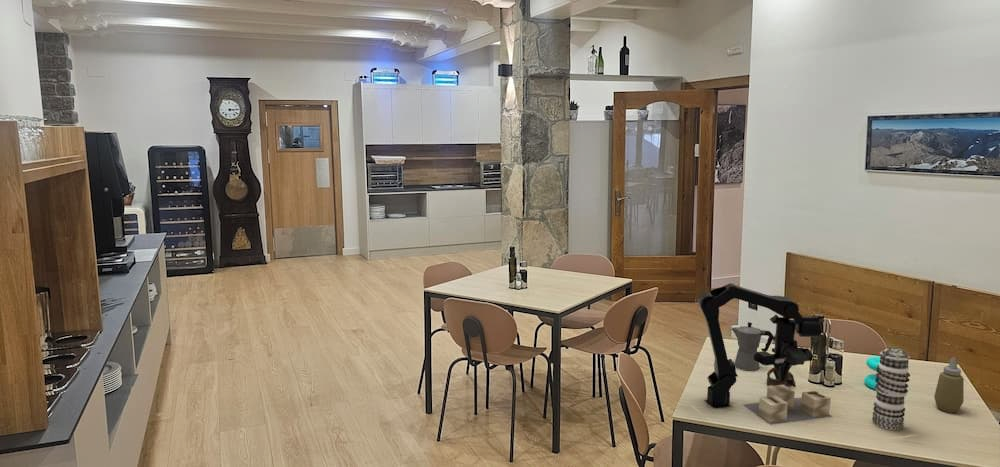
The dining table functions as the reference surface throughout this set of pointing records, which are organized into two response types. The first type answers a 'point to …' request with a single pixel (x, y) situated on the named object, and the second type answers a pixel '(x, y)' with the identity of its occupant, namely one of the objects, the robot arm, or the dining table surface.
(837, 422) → the dining table surface
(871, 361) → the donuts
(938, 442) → the dining table surface
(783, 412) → the numbered block one
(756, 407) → the charcoal mat
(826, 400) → the numbered block seven
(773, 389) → the plain block
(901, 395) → the striped patterned cylinder
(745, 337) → the coffeepot
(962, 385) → the squeeze bottle
